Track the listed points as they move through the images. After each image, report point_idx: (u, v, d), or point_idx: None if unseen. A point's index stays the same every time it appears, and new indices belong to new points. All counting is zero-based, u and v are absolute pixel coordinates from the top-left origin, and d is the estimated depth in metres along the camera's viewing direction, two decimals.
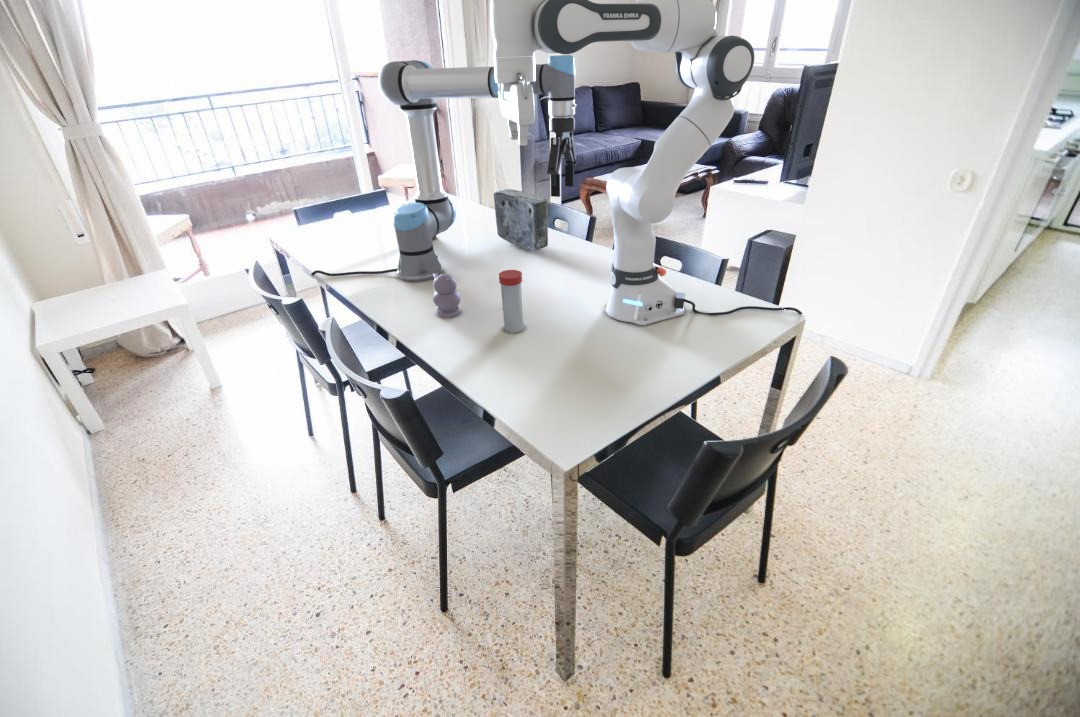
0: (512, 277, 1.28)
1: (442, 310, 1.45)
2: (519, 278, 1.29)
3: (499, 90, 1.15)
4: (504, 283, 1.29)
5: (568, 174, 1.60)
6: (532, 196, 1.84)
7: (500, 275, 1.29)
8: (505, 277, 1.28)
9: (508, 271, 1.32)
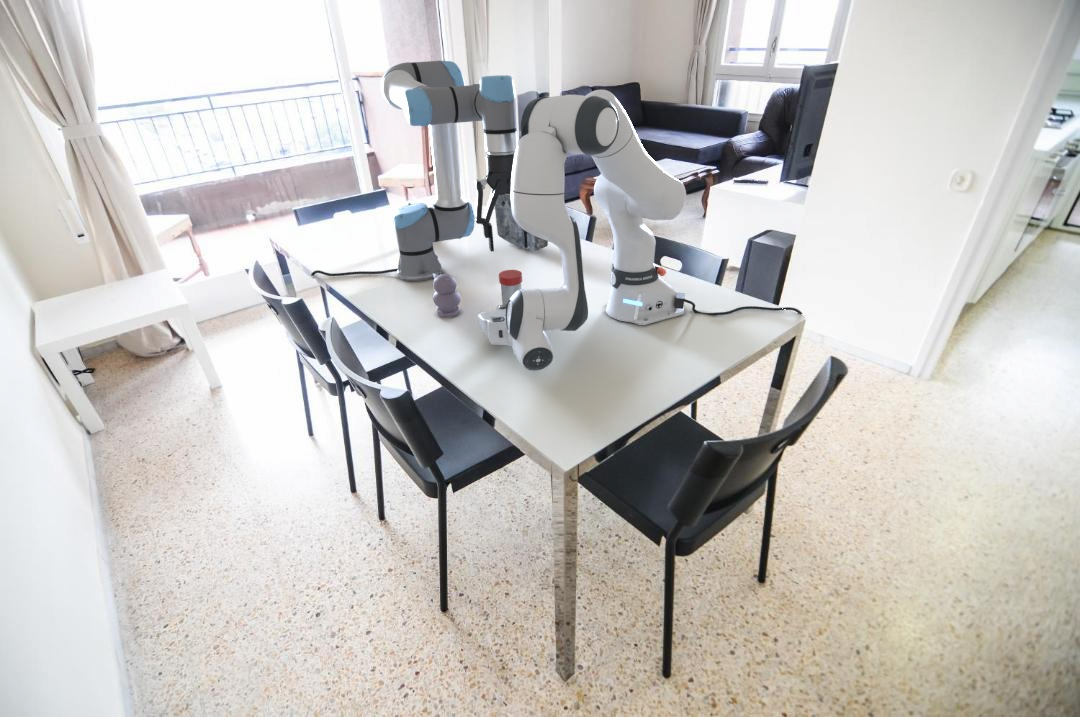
0: (512, 277, 1.28)
1: (442, 310, 1.45)
2: (519, 278, 1.29)
3: None
4: (504, 283, 1.29)
5: None
6: None
7: (500, 275, 1.29)
8: (505, 277, 1.28)
9: (508, 271, 1.32)
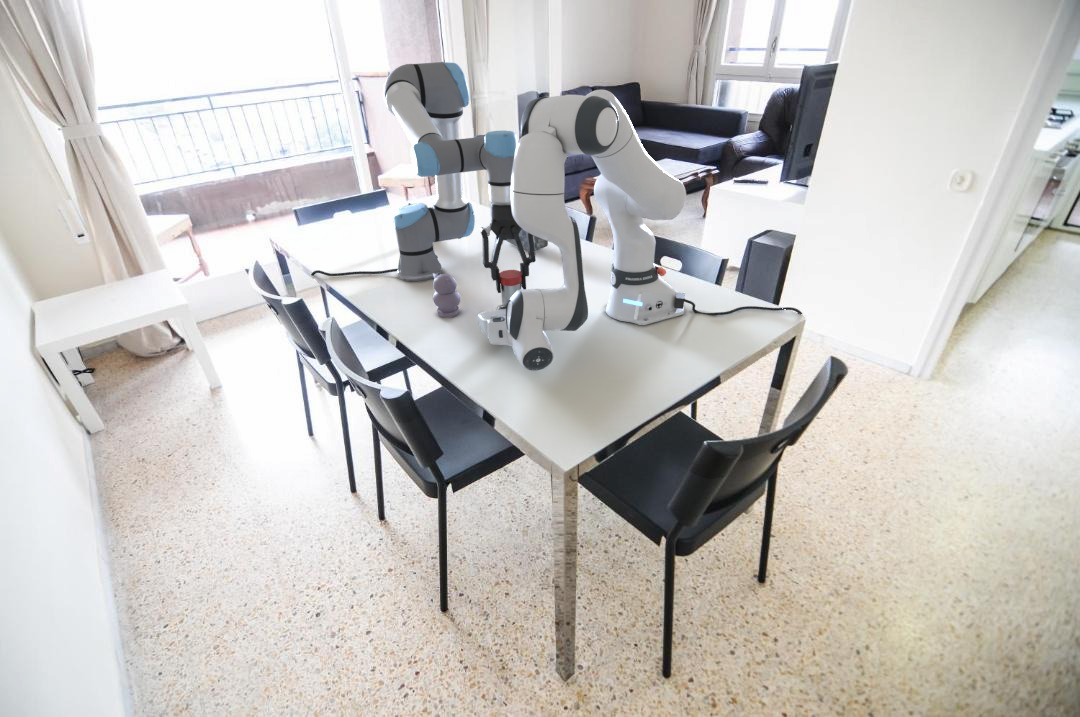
0: (512, 277, 1.28)
1: (442, 310, 1.45)
2: (519, 278, 1.29)
3: None
4: (504, 283, 1.29)
5: None
6: None
7: (500, 275, 1.29)
8: (505, 277, 1.28)
9: (508, 271, 1.32)
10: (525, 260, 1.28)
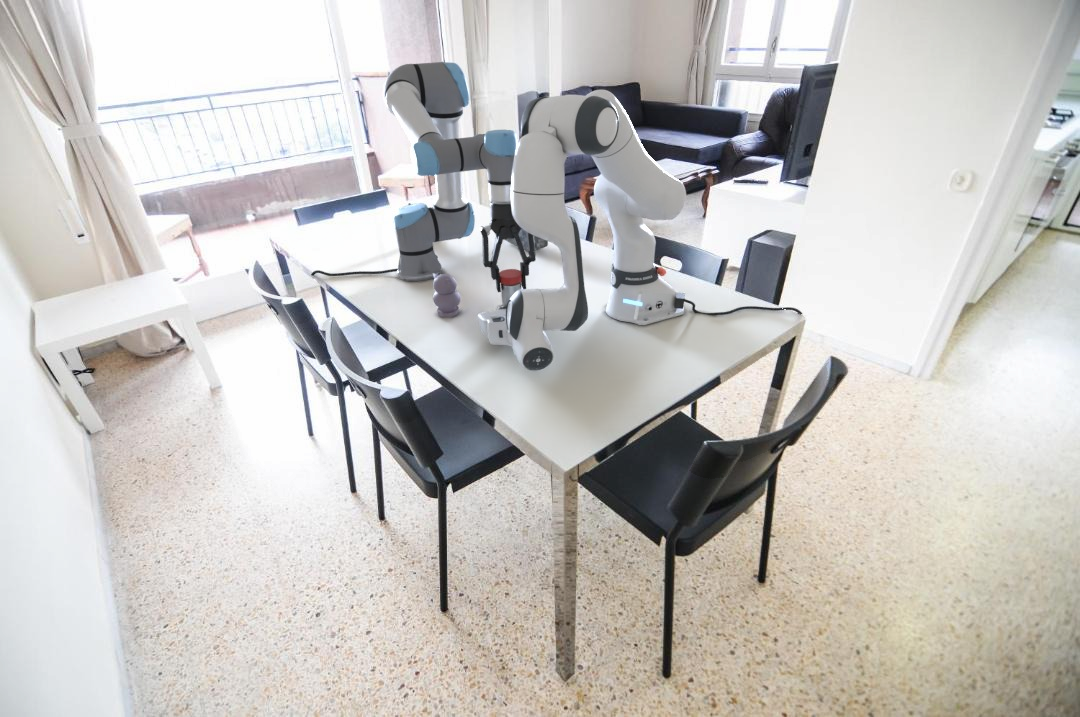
0: (515, 270, 1.32)
1: (442, 310, 1.45)
2: None
3: None
4: None
5: None
6: None
7: (518, 274, 1.29)
8: (519, 272, 1.30)
9: (506, 275, 1.29)
10: (525, 259, 1.28)
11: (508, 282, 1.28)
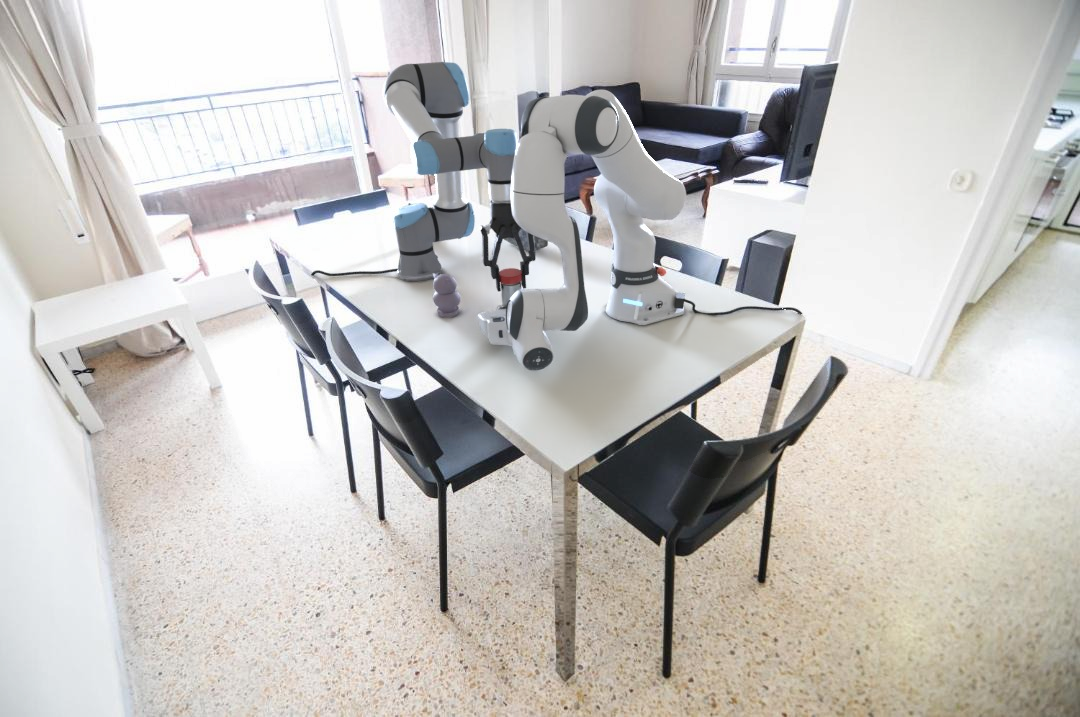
0: (500, 273, 1.29)
1: (442, 310, 1.45)
2: (502, 278, 1.28)
3: None
4: None
5: None
6: None
7: (508, 268, 1.32)
8: (503, 270, 1.31)
9: (517, 271, 1.30)
10: (525, 259, 1.28)
11: None
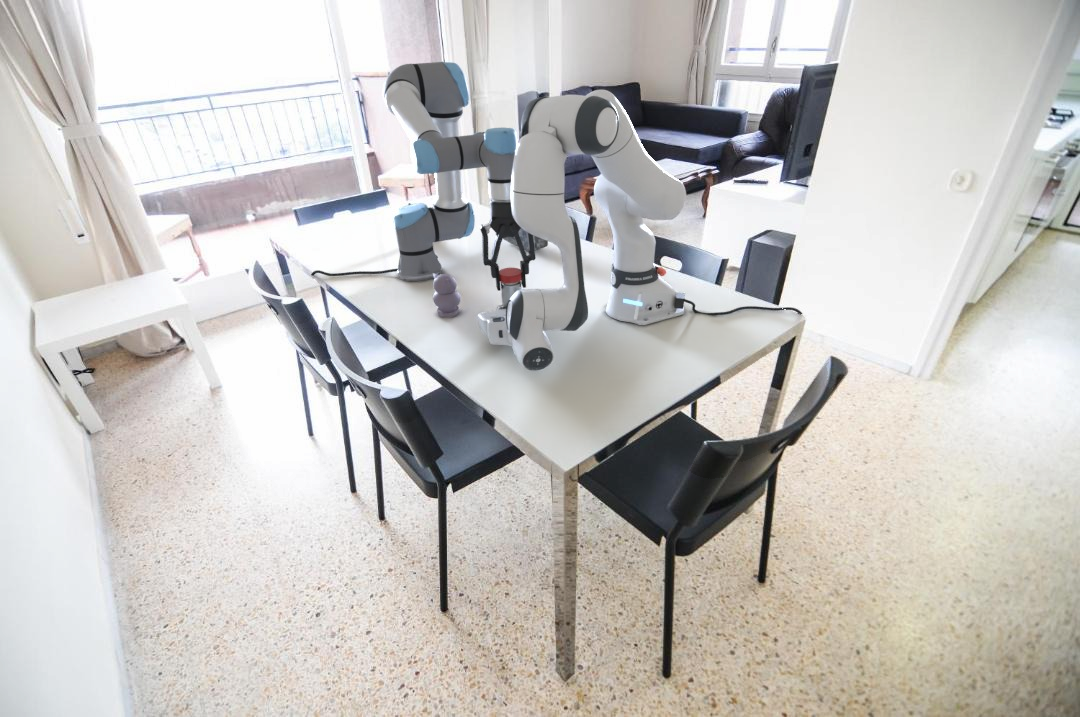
0: (517, 273, 1.28)
1: (442, 310, 1.45)
2: (521, 273, 1.30)
3: None
4: (512, 281, 1.28)
5: None
6: None
7: (503, 275, 1.28)
8: (510, 275, 1.28)
9: (504, 270, 1.31)
10: (525, 258, 1.27)
11: None
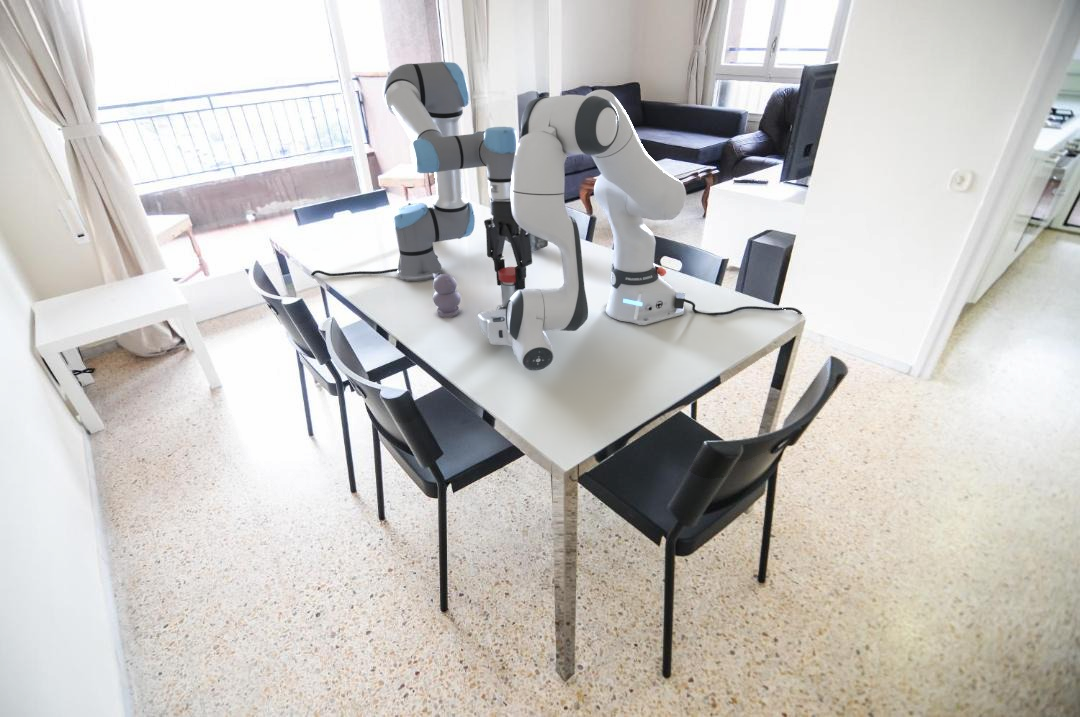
0: (510, 267, 1.32)
1: (442, 310, 1.45)
2: None
3: None
4: None
5: None
6: None
7: None
8: None
9: (510, 273, 1.28)
10: None
11: (515, 279, 1.28)
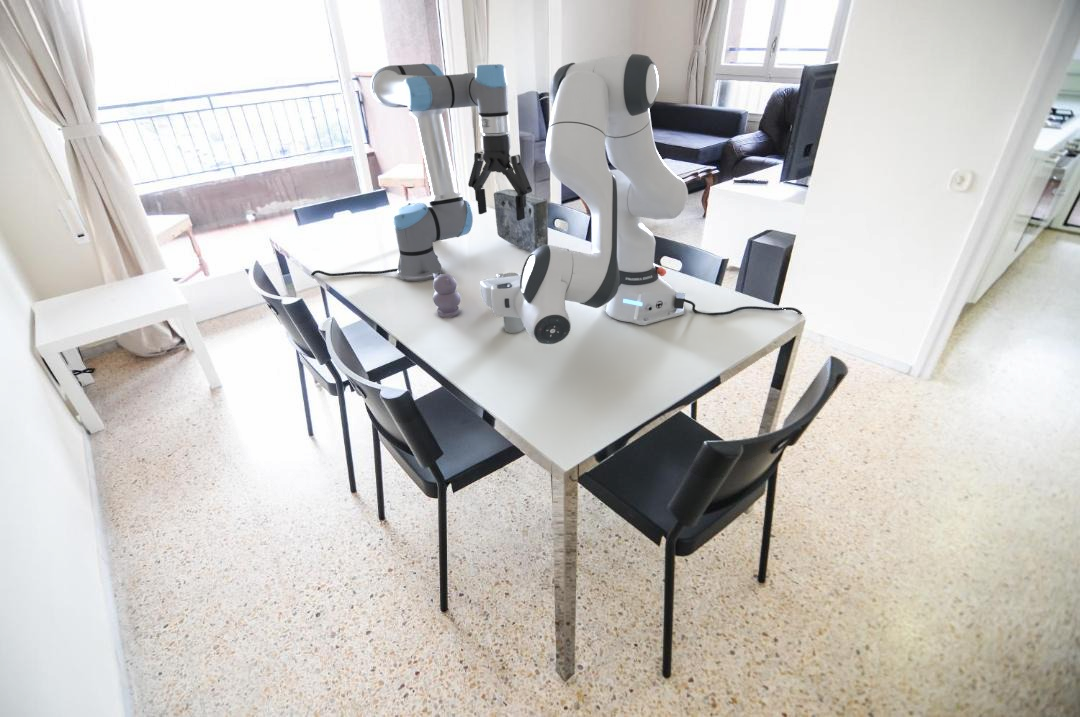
0: None
1: (442, 310, 1.45)
2: None
3: None
4: None
5: None
6: (532, 196, 1.84)
7: None
8: None
9: None
10: None
11: None
